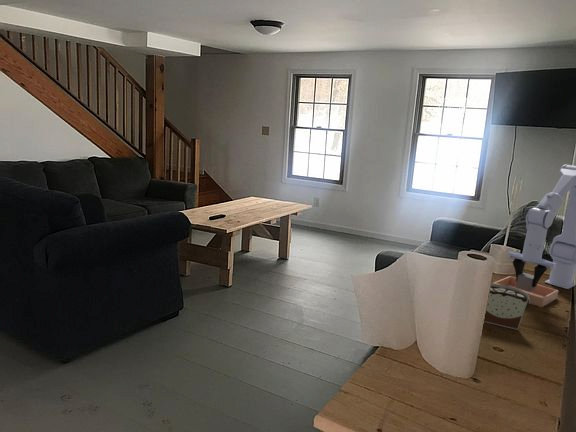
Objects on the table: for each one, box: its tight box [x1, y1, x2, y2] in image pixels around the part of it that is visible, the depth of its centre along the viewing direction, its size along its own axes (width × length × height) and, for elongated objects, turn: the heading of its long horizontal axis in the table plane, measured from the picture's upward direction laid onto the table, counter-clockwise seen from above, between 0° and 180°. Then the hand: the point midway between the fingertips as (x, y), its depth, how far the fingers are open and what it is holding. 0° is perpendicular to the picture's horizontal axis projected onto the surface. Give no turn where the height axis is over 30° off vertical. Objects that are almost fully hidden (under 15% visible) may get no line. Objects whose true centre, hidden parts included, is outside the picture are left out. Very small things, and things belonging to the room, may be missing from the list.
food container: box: [483, 283, 531, 331], centre depth 132 cm, size 12×6×10 cm, turn 65°
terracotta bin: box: [492, 275, 559, 308], centre depth 157 cm, size 14×16×3 cm
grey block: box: [516, 272, 535, 292], centre depth 157 cm, size 4×4×4 cm
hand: (526, 284), depth 157 cm, fingers closed on grey block, 4 cm apart
